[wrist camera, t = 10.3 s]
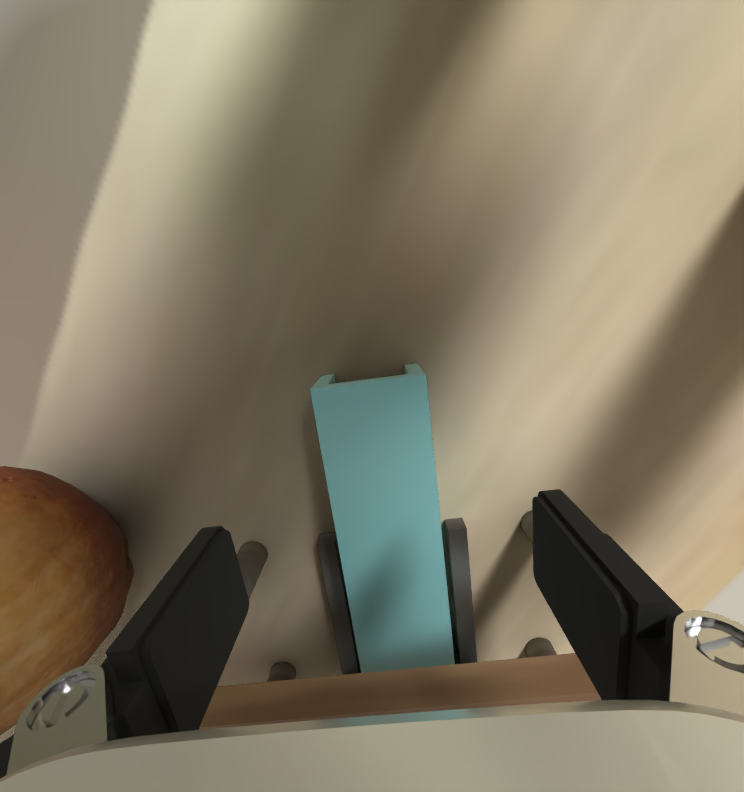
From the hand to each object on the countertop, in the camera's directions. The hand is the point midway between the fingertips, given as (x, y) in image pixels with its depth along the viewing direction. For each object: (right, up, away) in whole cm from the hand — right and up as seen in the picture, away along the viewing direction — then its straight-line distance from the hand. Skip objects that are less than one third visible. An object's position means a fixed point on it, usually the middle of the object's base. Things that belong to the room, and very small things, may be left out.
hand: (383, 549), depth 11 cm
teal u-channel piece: (+1, -4, +14) cm, 14 cm away
